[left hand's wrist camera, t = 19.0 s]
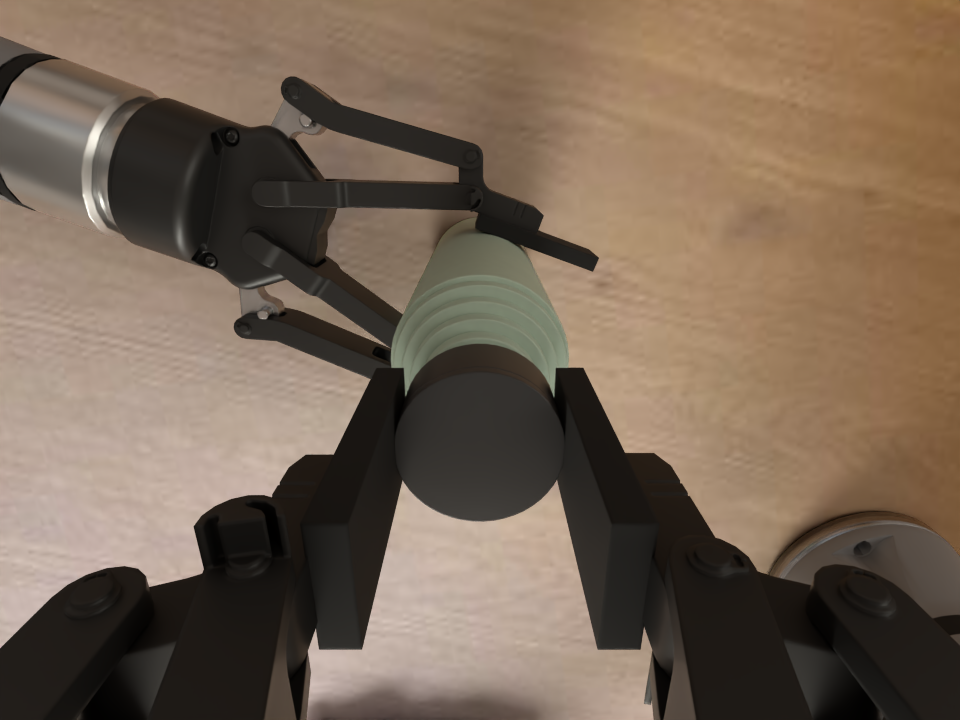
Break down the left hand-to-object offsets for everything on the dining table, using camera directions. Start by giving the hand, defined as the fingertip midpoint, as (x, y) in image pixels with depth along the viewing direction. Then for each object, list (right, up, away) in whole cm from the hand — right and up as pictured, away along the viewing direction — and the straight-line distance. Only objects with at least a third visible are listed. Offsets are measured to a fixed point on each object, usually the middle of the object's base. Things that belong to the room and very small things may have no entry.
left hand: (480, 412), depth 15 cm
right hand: (+5, +4, +15) cm, 16 cm away
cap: (0, -1, -2) cm, 2 cm away
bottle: (0, +8, +20) cm, 22 cm away
